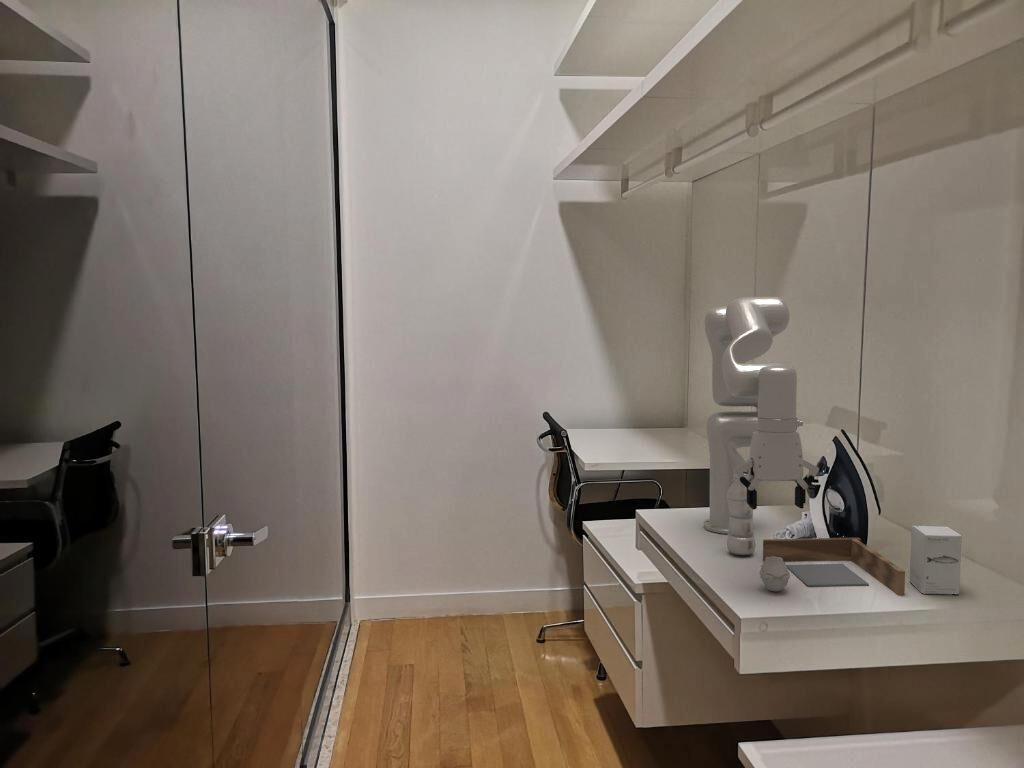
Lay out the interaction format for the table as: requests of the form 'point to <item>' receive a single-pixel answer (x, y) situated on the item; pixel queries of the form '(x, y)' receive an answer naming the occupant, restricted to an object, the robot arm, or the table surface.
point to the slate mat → (826, 575)
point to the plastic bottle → (740, 519)
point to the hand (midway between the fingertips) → (775, 507)
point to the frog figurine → (774, 573)
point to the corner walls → (838, 556)
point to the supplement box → (935, 559)
